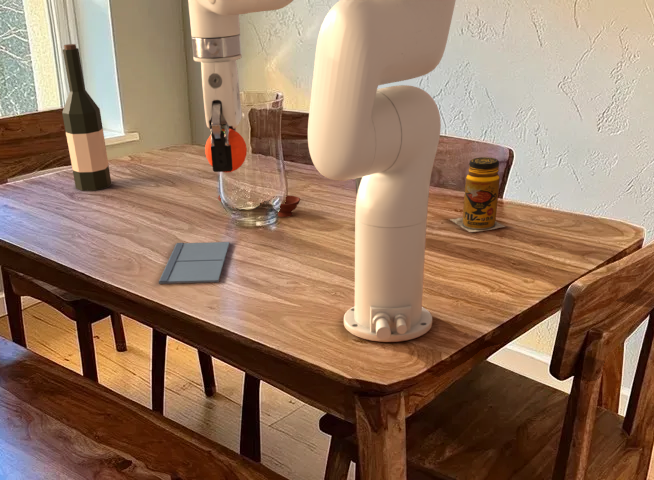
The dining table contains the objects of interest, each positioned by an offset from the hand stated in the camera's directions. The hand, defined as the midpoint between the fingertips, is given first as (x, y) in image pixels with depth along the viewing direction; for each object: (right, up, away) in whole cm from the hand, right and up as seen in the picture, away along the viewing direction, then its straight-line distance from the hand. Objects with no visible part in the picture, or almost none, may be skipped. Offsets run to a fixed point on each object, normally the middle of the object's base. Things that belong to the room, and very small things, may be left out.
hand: (225, 163), depth 131 cm
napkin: (-6, -15, +7) cm, 17 cm away
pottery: (+5, +1, +32) cm, 32 cm away
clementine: (0, -1, +1) cm, 2 cm away
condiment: (+46, -6, +18) cm, 50 cm away
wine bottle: (-35, +13, +54) cm, 66 cm away
